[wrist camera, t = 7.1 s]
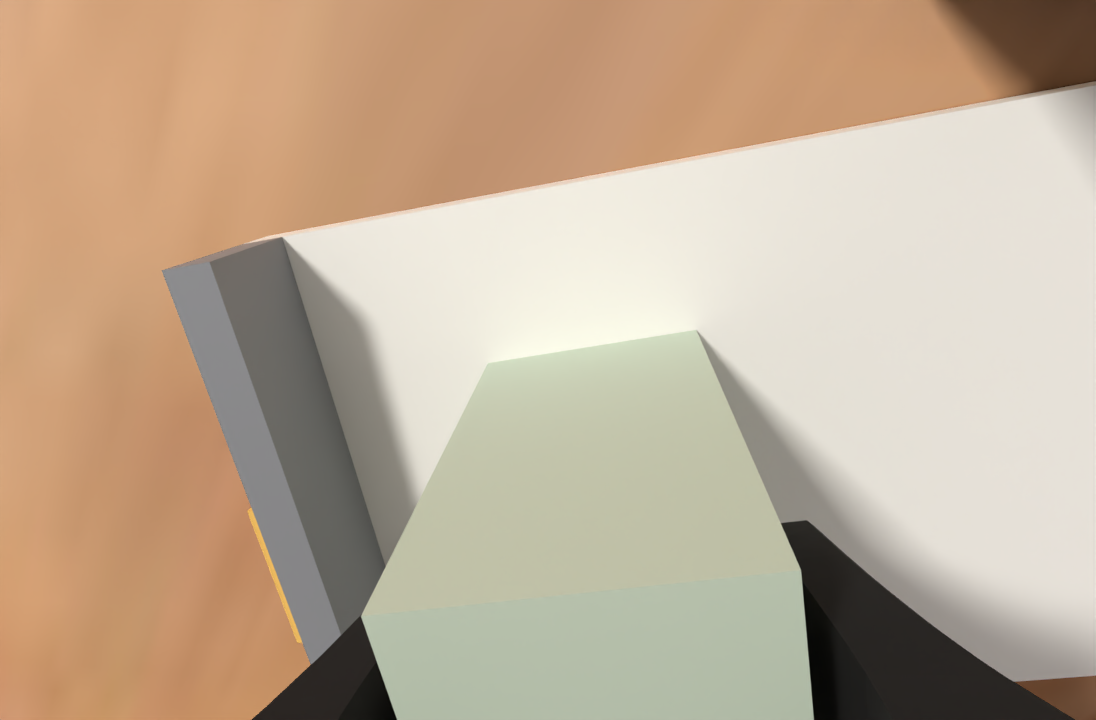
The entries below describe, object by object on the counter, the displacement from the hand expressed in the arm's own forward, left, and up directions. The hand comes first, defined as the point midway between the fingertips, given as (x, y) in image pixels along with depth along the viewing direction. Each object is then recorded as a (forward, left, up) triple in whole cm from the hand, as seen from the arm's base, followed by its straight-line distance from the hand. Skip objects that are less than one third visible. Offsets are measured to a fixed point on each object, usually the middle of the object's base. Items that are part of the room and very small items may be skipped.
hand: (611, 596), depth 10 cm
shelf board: (-2, 0, -4) cm, 5 cm away
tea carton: (0, 0, -3) cm, 3 cm away
